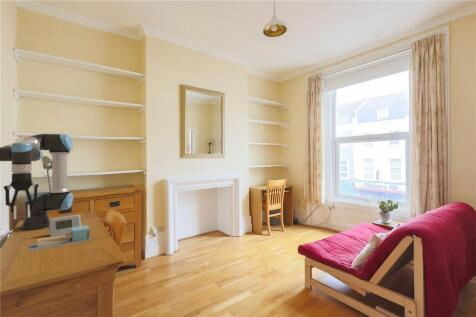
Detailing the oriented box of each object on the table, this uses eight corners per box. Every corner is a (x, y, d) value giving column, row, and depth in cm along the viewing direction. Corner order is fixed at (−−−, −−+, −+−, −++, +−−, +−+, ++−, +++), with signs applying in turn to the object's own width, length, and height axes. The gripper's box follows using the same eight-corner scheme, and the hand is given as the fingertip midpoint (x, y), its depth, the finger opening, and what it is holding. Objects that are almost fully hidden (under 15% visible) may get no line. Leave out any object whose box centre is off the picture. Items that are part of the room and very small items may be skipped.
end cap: (71, 237, 138) (71, 227, 138) (87, 234, 143) (87, 225, 143) (72, 241, 131) (72, 231, 131) (89, 238, 136) (89, 228, 136)
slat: (37, 244, 127) (37, 239, 127) (69, 239, 135) (69, 234, 135) (37, 247, 123) (37, 241, 123) (70, 241, 132) (69, 235, 132)
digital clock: (48, 238, 139) (48, 220, 139) (50, 234, 147) (50, 217, 147) (81, 233, 148) (81, 216, 148) (81, 229, 156) (81, 213, 156)
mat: (29, 245, 127) (29, 244, 127) (88, 235, 144) (88, 234, 144) (27, 252, 117) (27, 251, 117) (90, 240, 134) (90, 239, 134)
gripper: (-4, 173, 113) (-4, 222, 113) (43, 172, 124) (44, 216, 124) (-2, 173, 119) (-1, 219, 119) (44, 171, 130) (44, 213, 130)
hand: (22, 217), depth 121 cm, fingers open, 4 cm apart
